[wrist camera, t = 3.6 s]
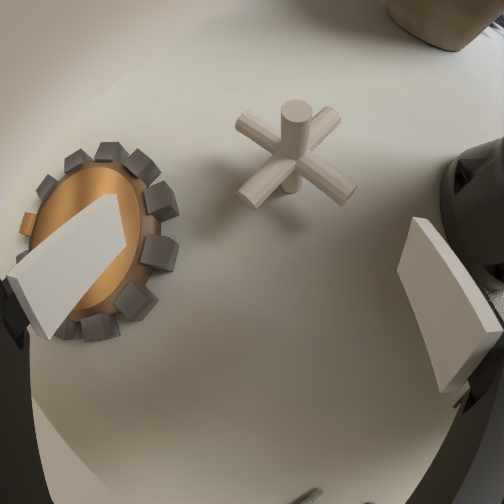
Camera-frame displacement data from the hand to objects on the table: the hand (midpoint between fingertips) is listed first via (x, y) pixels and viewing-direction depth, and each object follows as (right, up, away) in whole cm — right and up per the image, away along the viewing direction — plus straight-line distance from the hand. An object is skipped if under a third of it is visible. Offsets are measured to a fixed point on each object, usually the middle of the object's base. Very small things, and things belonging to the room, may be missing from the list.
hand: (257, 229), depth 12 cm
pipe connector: (+3, +5, +13) cm, 14 cm away
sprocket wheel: (-16, 0, +13) cm, 21 cm away
